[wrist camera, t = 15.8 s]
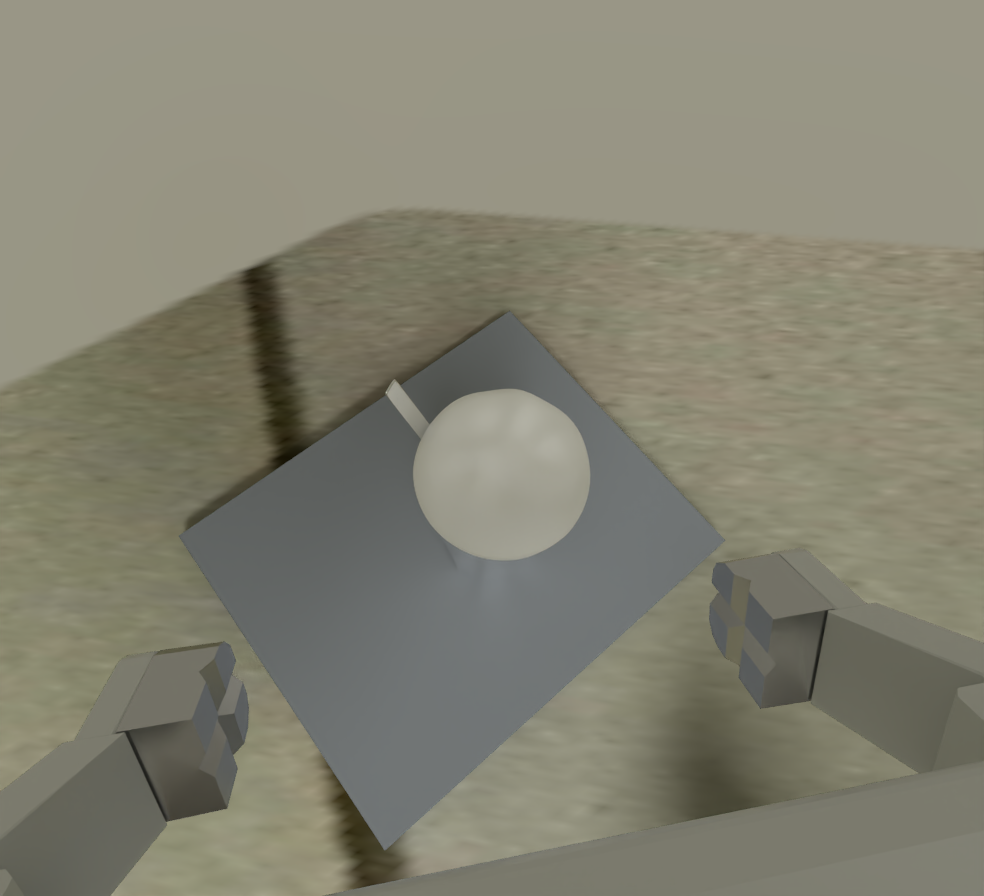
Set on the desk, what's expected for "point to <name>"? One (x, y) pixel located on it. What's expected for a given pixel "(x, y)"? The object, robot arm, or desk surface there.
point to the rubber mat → (436, 585)
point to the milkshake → (497, 477)
